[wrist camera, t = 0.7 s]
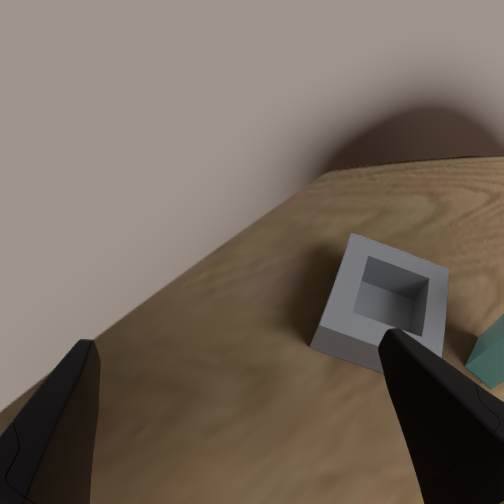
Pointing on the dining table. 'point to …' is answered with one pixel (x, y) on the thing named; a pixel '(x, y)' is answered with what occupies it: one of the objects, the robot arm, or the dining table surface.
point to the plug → (489, 355)
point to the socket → (381, 302)
